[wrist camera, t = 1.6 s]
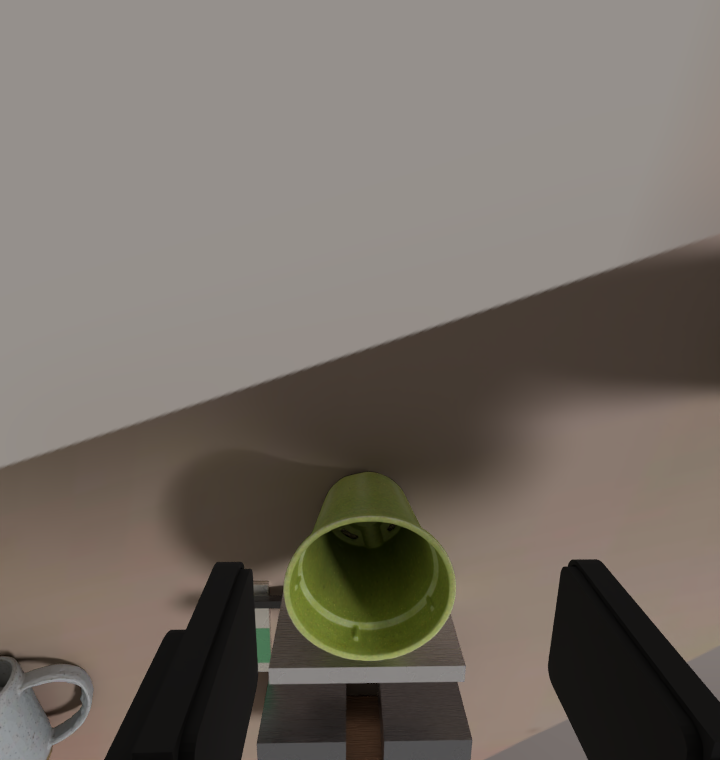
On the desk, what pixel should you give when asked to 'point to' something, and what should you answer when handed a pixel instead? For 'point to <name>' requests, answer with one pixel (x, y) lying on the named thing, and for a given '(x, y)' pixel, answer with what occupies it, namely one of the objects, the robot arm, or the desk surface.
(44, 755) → the ceramic mug
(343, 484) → the plant pot
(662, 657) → the robot arm
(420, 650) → the grey flat bar
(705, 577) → the desk surface
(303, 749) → the grey slotted box
